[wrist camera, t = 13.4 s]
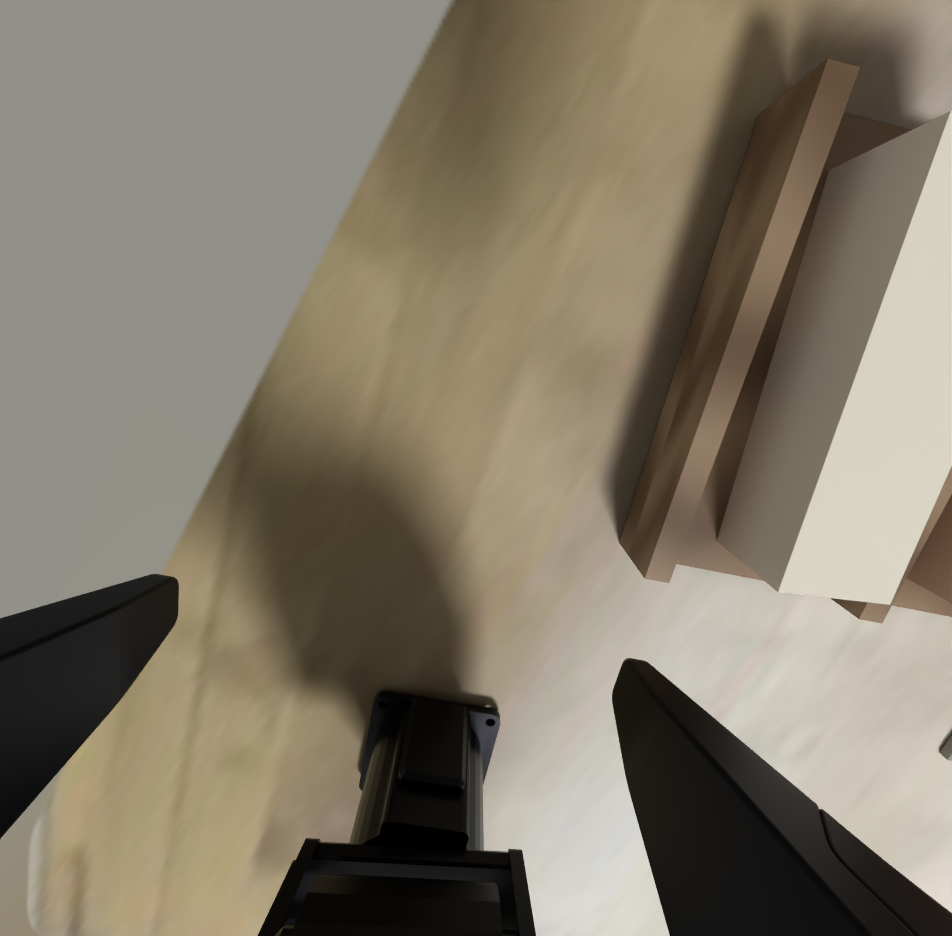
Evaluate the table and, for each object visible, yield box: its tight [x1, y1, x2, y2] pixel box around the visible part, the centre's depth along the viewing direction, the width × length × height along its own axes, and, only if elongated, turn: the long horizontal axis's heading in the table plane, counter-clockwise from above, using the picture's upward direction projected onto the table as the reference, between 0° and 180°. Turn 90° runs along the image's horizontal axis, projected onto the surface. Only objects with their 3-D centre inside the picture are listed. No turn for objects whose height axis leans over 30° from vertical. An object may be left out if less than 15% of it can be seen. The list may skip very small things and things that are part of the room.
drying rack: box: [619, 59, 952, 623], centre depth 17 cm, size 17×19×3 cm
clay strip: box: [717, 111, 952, 605], centre depth 15 cm, size 14×4×4 cm, turn 173°
